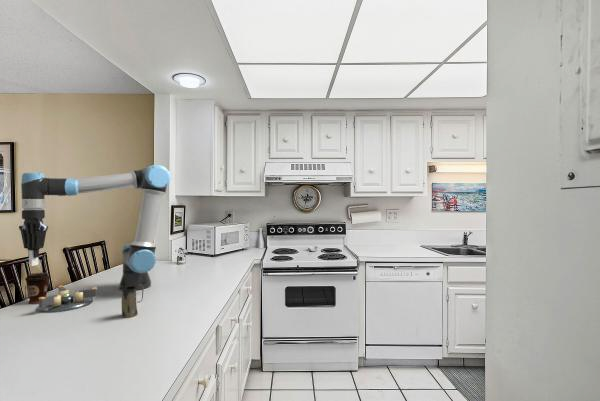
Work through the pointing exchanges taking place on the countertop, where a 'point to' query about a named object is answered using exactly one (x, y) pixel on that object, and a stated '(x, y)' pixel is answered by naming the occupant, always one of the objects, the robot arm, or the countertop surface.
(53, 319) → the countertop surface
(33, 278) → the coffee cup
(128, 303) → the mug
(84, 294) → the knob
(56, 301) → the knob
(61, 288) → the knob
